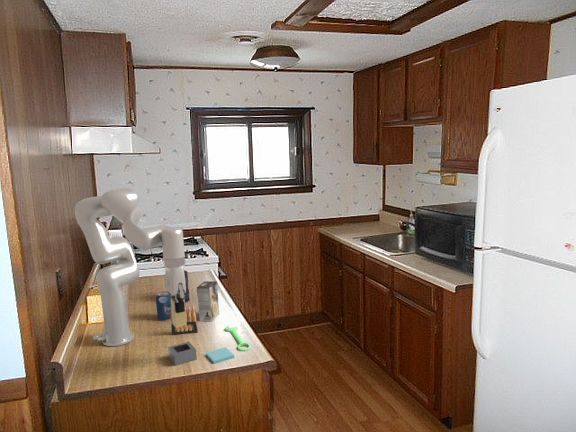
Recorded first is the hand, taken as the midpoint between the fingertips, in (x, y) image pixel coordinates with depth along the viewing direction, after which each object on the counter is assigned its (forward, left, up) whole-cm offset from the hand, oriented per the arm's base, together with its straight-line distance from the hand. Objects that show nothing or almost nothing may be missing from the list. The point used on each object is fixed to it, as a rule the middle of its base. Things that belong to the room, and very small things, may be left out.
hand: (178, 309), depth 164 cm
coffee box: (+23, +32, -19) cm, 44 cm away
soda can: (+6, +44, -19) cm, 48 cm away
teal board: (+12, -7, -19) cm, 24 cm away
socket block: (0, 0, -19) cm, 19 cm away
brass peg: (0, 0, -6) cm, 6 cm away
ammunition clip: (+8, +22, -19) cm, 30 cm away
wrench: (+24, +4, -20) cm, 31 cm away
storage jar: (+19, +63, -19) cm, 68 cm away
